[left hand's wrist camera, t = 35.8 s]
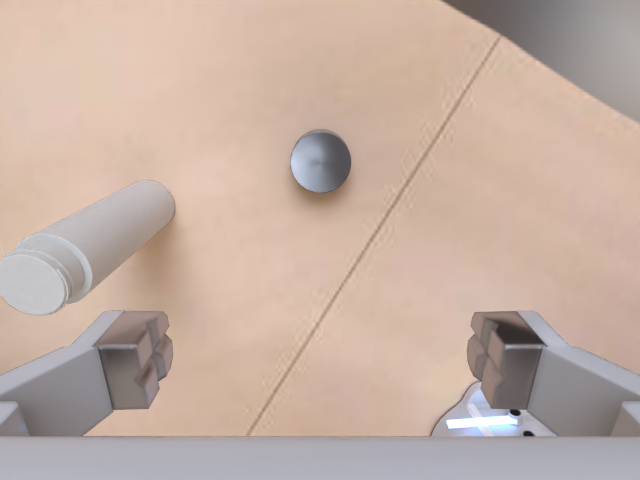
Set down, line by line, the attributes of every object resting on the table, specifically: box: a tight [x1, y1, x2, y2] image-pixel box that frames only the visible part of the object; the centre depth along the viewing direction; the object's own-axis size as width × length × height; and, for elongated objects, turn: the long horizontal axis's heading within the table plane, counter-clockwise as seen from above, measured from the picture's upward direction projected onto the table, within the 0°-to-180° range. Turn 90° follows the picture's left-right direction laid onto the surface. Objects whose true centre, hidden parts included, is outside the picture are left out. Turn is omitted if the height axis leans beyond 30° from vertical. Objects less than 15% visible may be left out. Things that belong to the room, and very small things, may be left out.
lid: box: [290, 129, 351, 193], centre depth 35 cm, size 5×5×2 cm
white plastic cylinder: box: [0, 180, 175, 315], centre depth 30 cm, size 5×5×17 cm
